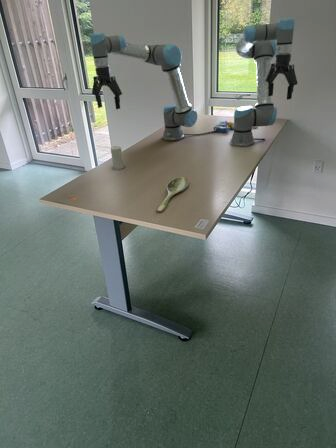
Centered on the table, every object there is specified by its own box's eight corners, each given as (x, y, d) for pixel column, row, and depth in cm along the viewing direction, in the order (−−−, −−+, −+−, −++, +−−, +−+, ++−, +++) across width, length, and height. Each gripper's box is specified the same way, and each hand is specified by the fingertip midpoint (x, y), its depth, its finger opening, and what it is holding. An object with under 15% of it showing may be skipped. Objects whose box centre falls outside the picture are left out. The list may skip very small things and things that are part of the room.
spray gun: (238, 125, 262) (220, 124, 268) (238, 119, 260) (220, 119, 266) (230, 133, 247) (211, 133, 253) (230, 128, 244) (211, 127, 251)
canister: (117, 165, 209) (114, 145, 203) (125, 166, 207) (122, 146, 200) (111, 168, 205) (108, 149, 198) (120, 169, 202) (117, 149, 196)
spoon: (170, 216, 152) (169, 212, 151) (148, 213, 156) (148, 209, 155) (192, 180, 179) (192, 176, 178) (173, 178, 182) (173, 175, 181)
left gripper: (80, 67, 180) (88, 108, 191) (115, 67, 167) (121, 111, 178) (90, 65, 185) (97, 105, 196) (124, 65, 173) (130, 107, 184)
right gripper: (260, 53, 178) (258, 95, 189) (297, 55, 159) (292, 101, 170) (271, 52, 181) (268, 93, 192) (308, 53, 162) (302, 99, 173)
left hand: (109, 108), depth 187 cm, fingers open, 13 cm apart
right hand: (279, 97), depth 181 cm, fingers open, 13 cm apart
